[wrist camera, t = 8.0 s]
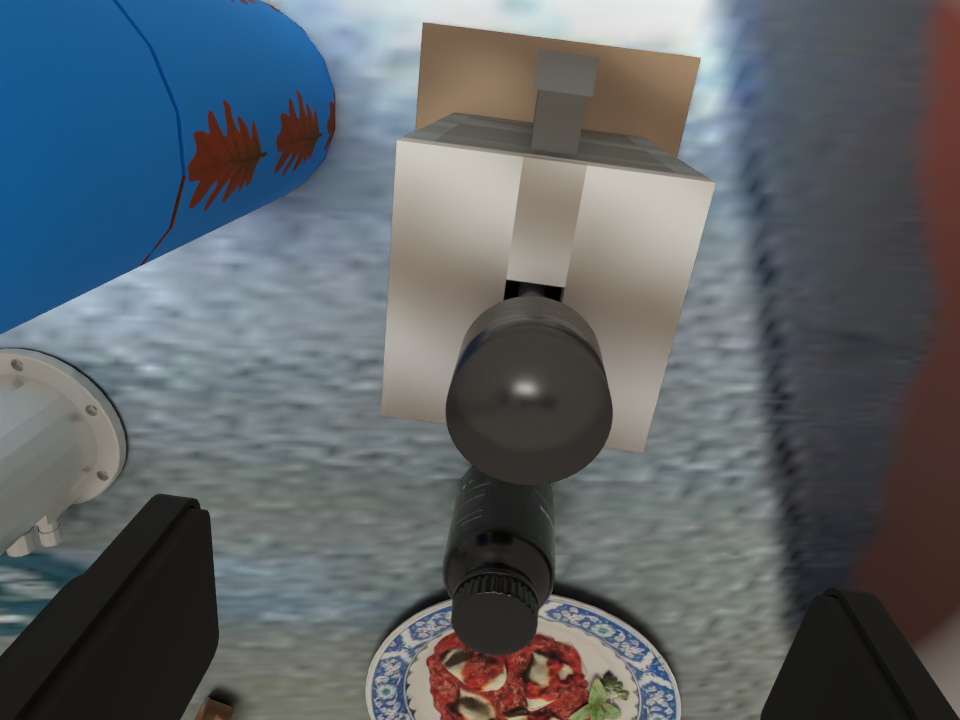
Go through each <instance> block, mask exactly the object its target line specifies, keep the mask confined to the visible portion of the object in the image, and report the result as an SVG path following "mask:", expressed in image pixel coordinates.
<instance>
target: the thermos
mask: <svg viewBox="0 0 960 720" xmlns="http://www.w3.org/2000/svg"><path fill="white" fill-rule="evenodd" d="M334 130H335V93H334V90H333V87H332V84H331V81H330V77H329V74H328V71H327V68H326V65H325V62H324V59H323V58H322V56H321V55H320V53H319V52H318V50H317V49H316V48H315V46H314V45H313V43H312V42H311V40H310V39H309V37H308V36H307V35H306V33H305V32H304V30H303V29H302V28H301V27H300V26H298V25H297V24H296V23H294V22H293V21H292V20H291V19H289V18H288V17H287V16H285V15H284V14H283V13H281V12H280V11H279V10H277V9H276V8H275V7H273V6H272V5H269V4H267V3H264V2H262V1H260V0H0V334H2V333H4V332H6V331H8V330H10V329H12V328H14V327H16V326H18V325H20V324H22V323H24V322H27V321H29V320H31V319H33V318H35V317H37V316H39V315H41V314H43V313H45V312H47V311H49V310H51V309H53V308H55V307H57V306H59V305H61V304H63V303H65V302H67V301H70V300H72V299H74V298H76V297H78V296H80V295H82V294H84V293H86V292H88V291H90V290H92V289H94V288H96V287H98V286H100V285H102V284H104V283H106V282H108V281H111V280H113V279H115V278H117V277H119V276H121V275H123V274H125V273H127V272H129V271H131V270H133V269H135V268H137V267H139V266H141V265H143V264H145V263H147V262H149V261H151V260H154V259H156V258H158V257H160V256H162V255H164V254H166V253H168V252H170V251H172V250H174V249H176V248H178V247H180V246H182V245H184V244H186V243H188V242H190V241H192V240H194V239H197V238H199V237H201V236H203V235H205V234H207V233H209V232H211V231H213V230H215V229H217V228H219V227H221V226H223V225H225V224H227V223H229V222H231V221H233V220H235V219H237V218H240V217H242V216H244V215H246V214H248V213H250V212H252V211H254V210H256V209H258V208H260V207H262V206H264V205H266V204H268V203H270V202H272V201H274V200H276V199H278V198H280V197H283V196H284V195H286V194H287V193H289V192H290V191H292V190H293V189H294V188H296V187H297V186H299V185H300V184H302V183H303V182H305V181H306V180H307V178H308V177H309V176H310V175H311V174H312V173H313V171H314V170H315V169H316V168H317V167H318V166H319V165H320V163H321V162H322V161H323V160H324V159H325V156H326V153H327V150H328V147H329V144H330V142H331V139H332V136H333V133H334Z"/></svg>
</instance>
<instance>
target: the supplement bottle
mask: <svg viewBox="0 0 960 720" xmlns="http://www.w3.org/2000/svg"><path fill="white" fill-rule="evenodd" d="M442 575H443V581H444V585H445V588H446V590H447V592H448V594H449V596H450V597H451V599H452V613H451V614H452V615H451V623H452V628H453V630H454V633H455V635H456V636H457V637H458V639H459V640H460V641H461V642H463V644H464V645H465V646H468V647H469V648H470V649H472V650H475V651H476V652H479V653H483V654H485V655H493V656H496V655H500V656H503V655H510V654H512V653H516V652H518V651H519V650H522V649H524V648H525V646H527V645H529V644H530V642H531V641H532V640H533V639H534V635H535V634H536V632H537V626H538V613H539V610H540V609H541V608H542V607H543V606H544V604H545V603H546V602H547V600H548V599H549V597H550V595H551V593H552V591H553V588H554V583H555V547H554V509H553V495H552V491H551V488H550V485H549V483H547V484H539V485H522V484H514V483H509V482H505V481H502V480H499V479H496V478H494V477H491V476H489V475H487V474H485V473H484V472H482V471H480V470H479V469H477V468H476V467H475V466H474V467H473V468H472V469H471V470H470V471H469V472H468V473H467V474H466V475H465V476H464V478H463V480H462V481H461V484H460V486H459V490H458V494H457V498H456V503H455V507H454V512H453V517H452V522H451V527H450V532H449V536H448V541H447V546H446V551H445V556H444V561H443V569H442Z"/></svg>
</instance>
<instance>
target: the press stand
mask: <svg viewBox="0 0 960 720" xmlns="http://www.w3.org/2000/svg"><path fill="white" fill-rule="evenodd" d="M700 59H701V58H698V57H690V56H682V55H674V54H666V53H658V52H651V51H643V50H635V49H627V48H619V47H611V46H604V45H596V44H588V43H580V42H572V41H565V40H557V39H549V38H541V37H533V36H525V35H518V34H510V33H502V32H494V31H486V30H479V29H471V28H463V27H455V26H447V25H439V24H432V23H424V22H423V28H422V42H421V57H420V71H419V86H418V100H417V115H416V129H415V132H413V133H411V134H409V135H406V136H404V137H402V138H400V139H398V140H397V145H396V163H395V180H394V197H393V215H392V232H391V249H390V267H389V284H388V302H387V319H386V336H385V354H384V371H383V388H382V406H381V415H383V416H389V417H396V418H403V419H410V420H417V421H424V422H431V423H438V424H445V425H447V423H446V414H445V411H446V400H447V395H448V391H449V387H450V384H451V380H452V377H453V373H454V369H455V366H456V362H457V359H458V355H459V352H460V348H461V345H462V342H463V339H464V336H465V334H466V332H467V330H468V329H469V327H470V326H471V324H472V323H473V322H474V321H475V320H476V318H477V317H478V316H479V315H480V314H482V313H483V312H484V311H485V310H487V309H488V308H490V307H492V306H493V305H495V304H497V303H499V302H502V301H504V300H508V299H511V298H516V297H518V289H519V281H521V282H529V283H536V284H543V285H545V298H549V299H553V300H555V301H558V302H561V303H563V304H565V305H567V306H569V307H570V308H572V309H573V310H575V311H576V312H577V313H578V314H580V315H581V316H582V317H583V318H584V319H585V320H586V322H587V323H588V324H589V325H590V327H591V328H592V330H593V331H594V333H595V335H596V338H597V340H598V343H599V346H600V350H601V355H602V359H603V364H604V368H605V373H606V377H607V381H608V386H609V390H610V395H611V399H612V406H613V420H612V426H611V430H610V433H609V437H608V439H607V441H606V443H605V445H604V447H603V448H610V449H617V450H624V451H631V452H638V453H643V451H644V447H645V444H646V440H647V436H648V432H649V429H650V425H651V421H652V418H653V414H654V410H655V406H656V403H657V399H658V395H659V392H660V388H661V384H662V381H663V377H664V373H665V369H666V366H667V362H668V358H669V355H670V351H671V347H672V344H673V340H674V336H675V332H676V329H677V325H678V321H679V318H680V314H681V310H682V306H683V303H684V299H685V295H686V292H687V288H688V284H689V281H690V277H691V273H692V269H693V266H694V262H695V258H696V255H697V251H698V247H699V244H700V240H701V236H702V232H703V229H704V225H705V221H706V218H707V214H708V210H709V207H710V203H711V199H712V195H713V192H714V188H715V184H716V182H714V181H712V180H711V179H709V178H708V177H706V176H704V175H703V174H701V173H700V172H698V171H696V170H695V169H693V168H692V167H690V166H688V165H687V164H685V163H684V162H682V161H680V160H679V159H677V155H678V151H679V147H680V142H681V138H682V134H683V130H684V126H685V122H686V117H687V113H688V109H689V105H690V101H691V97H692V92H693V88H694V84H695V80H696V76H697V72H698V67H699V63H700Z"/></svg>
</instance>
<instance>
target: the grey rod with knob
mask: <svg viewBox="0 0 960 720" xmlns="http://www.w3.org/2000/svg"><path fill="white" fill-rule="evenodd" d="M445 414H446V423H447V427H448V430H449V433H450V436H451V438H452V440H453V442H454V444H455V446H456V447H457V449H458V450H459V451H460V453H461V454H462V455H463V456H464V457H465V458H466V459H467V460H468V461H469V462H470V463H471V464H472V465H473V466H475V467H476V468H477V469H479V470H480V471H482V472H484V473H485V474H487V475H489V476H491V477H494V478H496V479H499V480H502V481H505V482H509V483H514V484H522V485H539V484H547V483H552V482H556V481H559V480H562V479H565V478H567V477H569V476H571V475H573V474H575V473H577V472H579V471H580V470H582V469H583V468H585V467H586V466H587V465H588V464H589V463H590V462H592V461H593V459H594V458H595V457H596V456H597V455H598V454H599V452H600V451H601V450H602V448H603V447H604V445H605V443H606V441H607V439H608V437H609V433H610V430H611V426H612V420H613V406H612V399H611V395H610V390H609V386H608V381H607V377H606V373H605V368H604V364H603V359H602V355H601V350H600V346H599V343H598V340H597V338H596V335H595V333H594V331H593V330H592V328H591V327H590V325H589V324H588V323H587V322H586V320H585V319H584V318H583V317H582V316H581V315H580V314H578V313H577V312H576V311H575V310H573V309H572V308H570V307H569V306H567V305H565V304H563V303H561V302H558V301H555V300H553V299H549V298H545V285H543V284H536V283H529V282H521V281H519V289H518V297H516V298H511V299H508V300H504V301H502V302H499V303H497V304H495V305H493V306H492V307H490V308H488V309H487V310H485V311H484V312H483V313H482V314H480V315H479V316H478V317H477V318H476V320H475V321H474V322H473V323H472V324H471V326H470V327H469V329H468V330H467V332H466V334H465V336H464V339H463V342H462V345H461V348H460V352H459V355H458V359H457V362H456V366H455V369H454V373H453V377H452V380H451V384H450V387H449V391H448V395H447V400H446V411H445Z"/></svg>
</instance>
